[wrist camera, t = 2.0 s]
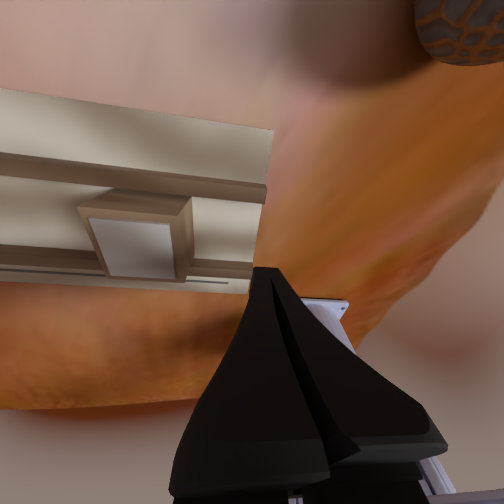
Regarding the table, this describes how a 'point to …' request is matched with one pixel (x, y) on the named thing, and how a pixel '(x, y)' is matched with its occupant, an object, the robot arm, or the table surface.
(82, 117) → the birch board
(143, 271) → the block
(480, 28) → the vase
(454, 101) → the table surface
